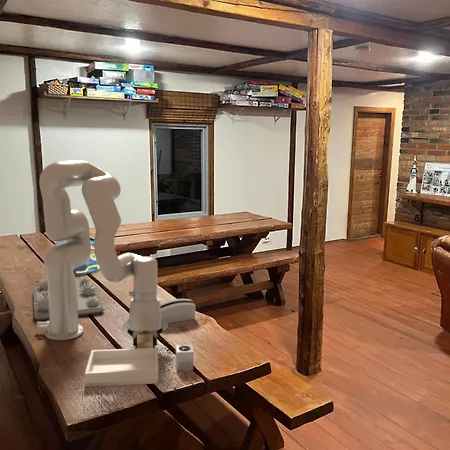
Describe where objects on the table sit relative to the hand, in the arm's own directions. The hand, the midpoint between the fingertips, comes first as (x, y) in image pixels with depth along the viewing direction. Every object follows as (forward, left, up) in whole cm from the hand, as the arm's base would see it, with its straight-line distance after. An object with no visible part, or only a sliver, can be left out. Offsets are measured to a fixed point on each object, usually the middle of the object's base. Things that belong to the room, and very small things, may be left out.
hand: (145, 347), depth 149 cm
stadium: (-37, +100, -1) cm, 107 cm away
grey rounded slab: (+11, +22, -1) cm, 25 cm away
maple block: (0, 0, -1) cm, 1 cm away
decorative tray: (-33, +44, -1) cm, 55 cm away
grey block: (+12, -13, -1) cm, 18 cm away
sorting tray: (-6, -15, -1) cm, 16 cm away
